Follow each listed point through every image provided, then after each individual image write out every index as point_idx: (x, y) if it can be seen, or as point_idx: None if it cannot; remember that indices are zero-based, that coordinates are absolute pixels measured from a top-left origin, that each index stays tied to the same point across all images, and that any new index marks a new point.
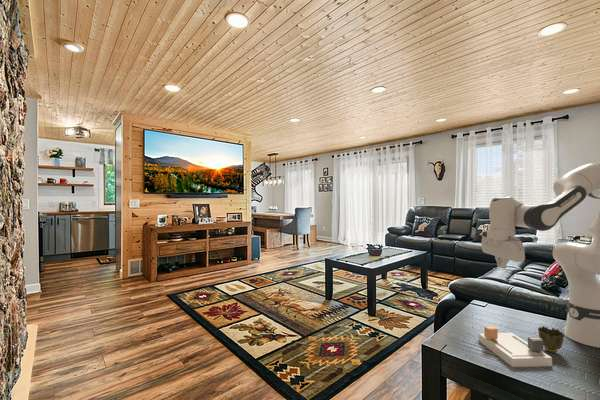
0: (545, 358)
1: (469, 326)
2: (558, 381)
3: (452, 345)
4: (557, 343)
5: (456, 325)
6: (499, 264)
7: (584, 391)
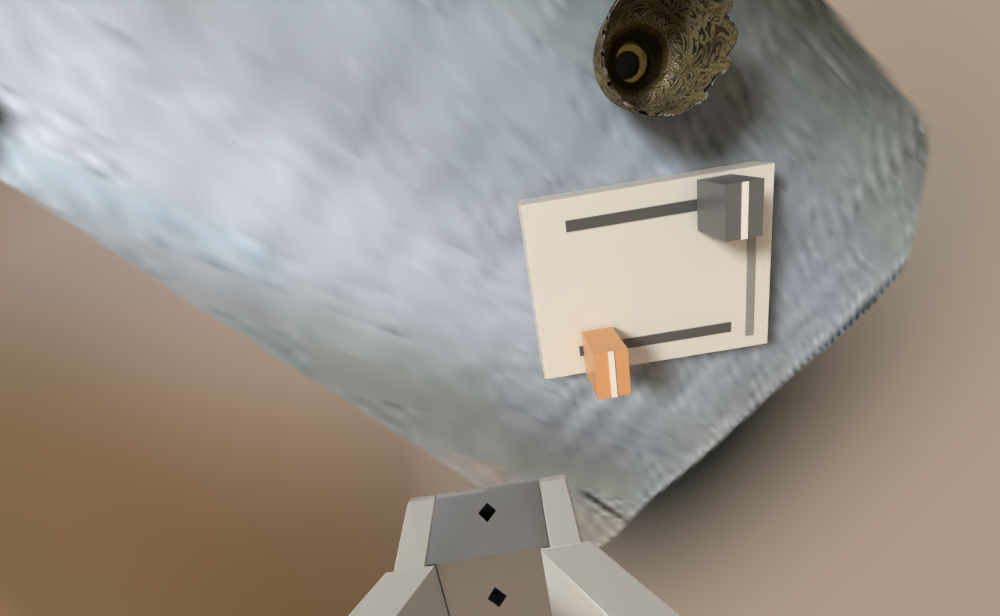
0: (771, 196)
1: (389, 342)
2: (846, 212)
3: (590, 473)
4: (705, 54)
5: (389, 398)
6: (495, 613)
7: (913, 157)
